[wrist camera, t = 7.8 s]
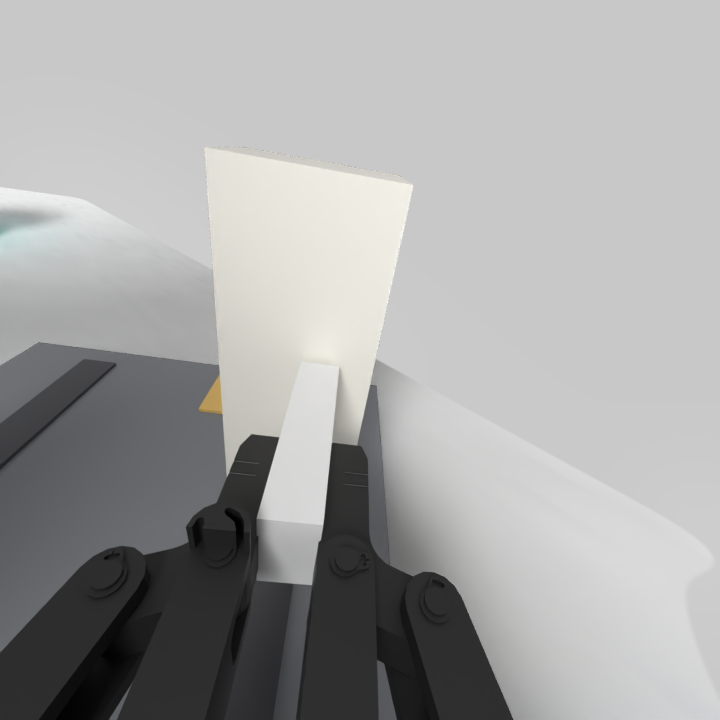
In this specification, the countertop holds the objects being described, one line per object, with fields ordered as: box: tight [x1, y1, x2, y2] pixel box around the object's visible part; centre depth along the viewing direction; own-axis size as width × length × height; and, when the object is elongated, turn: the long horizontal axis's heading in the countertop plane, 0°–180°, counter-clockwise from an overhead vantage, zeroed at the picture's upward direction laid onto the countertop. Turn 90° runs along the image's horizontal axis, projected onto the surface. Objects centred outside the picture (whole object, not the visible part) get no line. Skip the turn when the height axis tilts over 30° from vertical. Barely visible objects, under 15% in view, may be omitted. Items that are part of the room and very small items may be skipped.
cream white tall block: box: [204, 147, 413, 476], centre depth 15 cm, size 4×6×14 cm, turn 90°
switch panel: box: [0, 342, 397, 720], centre depth 15 cm, size 24×24×2 cm
